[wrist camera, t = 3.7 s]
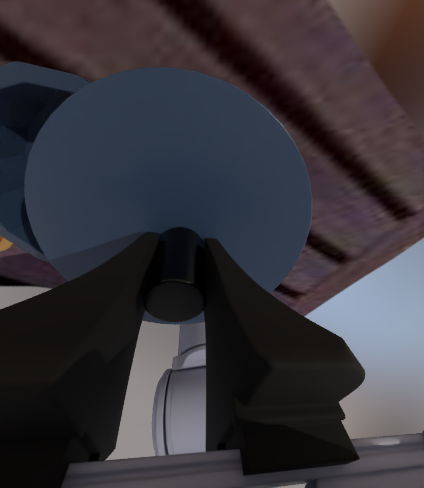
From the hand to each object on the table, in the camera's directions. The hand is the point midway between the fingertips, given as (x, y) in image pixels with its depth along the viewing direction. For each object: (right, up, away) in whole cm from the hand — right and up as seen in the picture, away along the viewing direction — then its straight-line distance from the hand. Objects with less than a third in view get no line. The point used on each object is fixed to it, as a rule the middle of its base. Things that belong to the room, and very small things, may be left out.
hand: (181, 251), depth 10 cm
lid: (0, +1, +1) cm, 1 cm away
